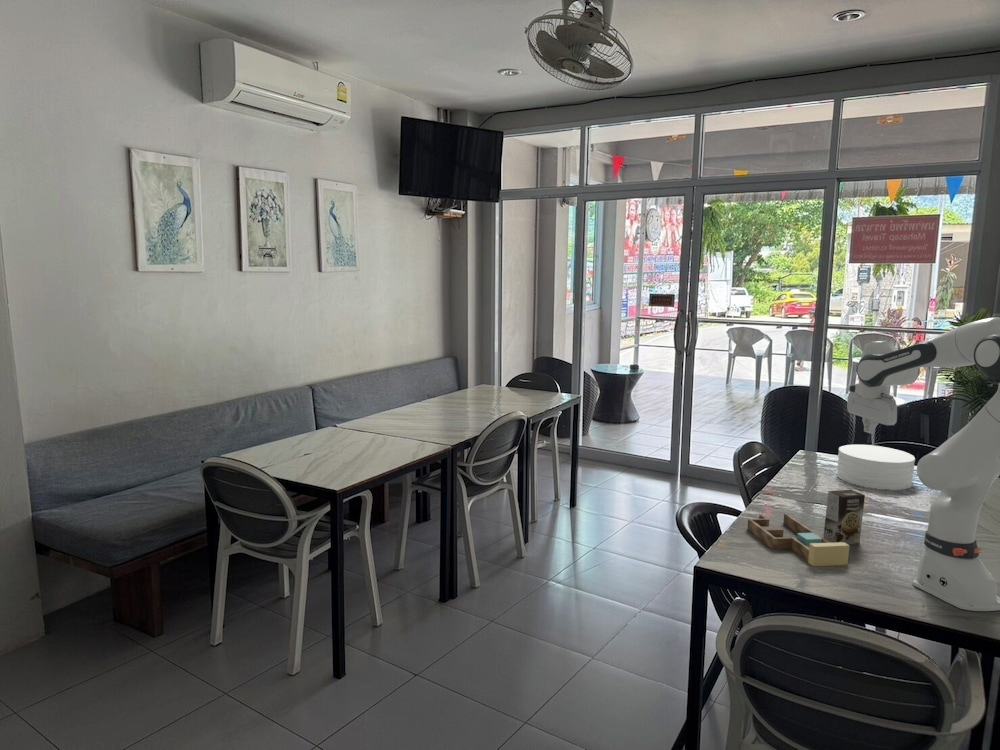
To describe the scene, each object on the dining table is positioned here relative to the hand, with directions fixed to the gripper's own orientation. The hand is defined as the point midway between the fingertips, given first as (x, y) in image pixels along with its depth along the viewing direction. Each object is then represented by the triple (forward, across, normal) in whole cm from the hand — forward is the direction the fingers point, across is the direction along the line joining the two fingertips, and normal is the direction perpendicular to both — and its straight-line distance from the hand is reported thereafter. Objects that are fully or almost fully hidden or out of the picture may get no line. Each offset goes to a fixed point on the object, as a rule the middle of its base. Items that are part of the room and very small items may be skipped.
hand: (869, 432), depth 226 cm
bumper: (+34, -22, +25) cm, 48 cm away
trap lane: (+34, -6, +28) cm, 44 cm away
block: (+34, -13, +26) cm, 45 cm away
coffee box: (+34, -6, +10) cm, 36 cm away
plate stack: (+35, +56, -44) cm, 79 cm away
